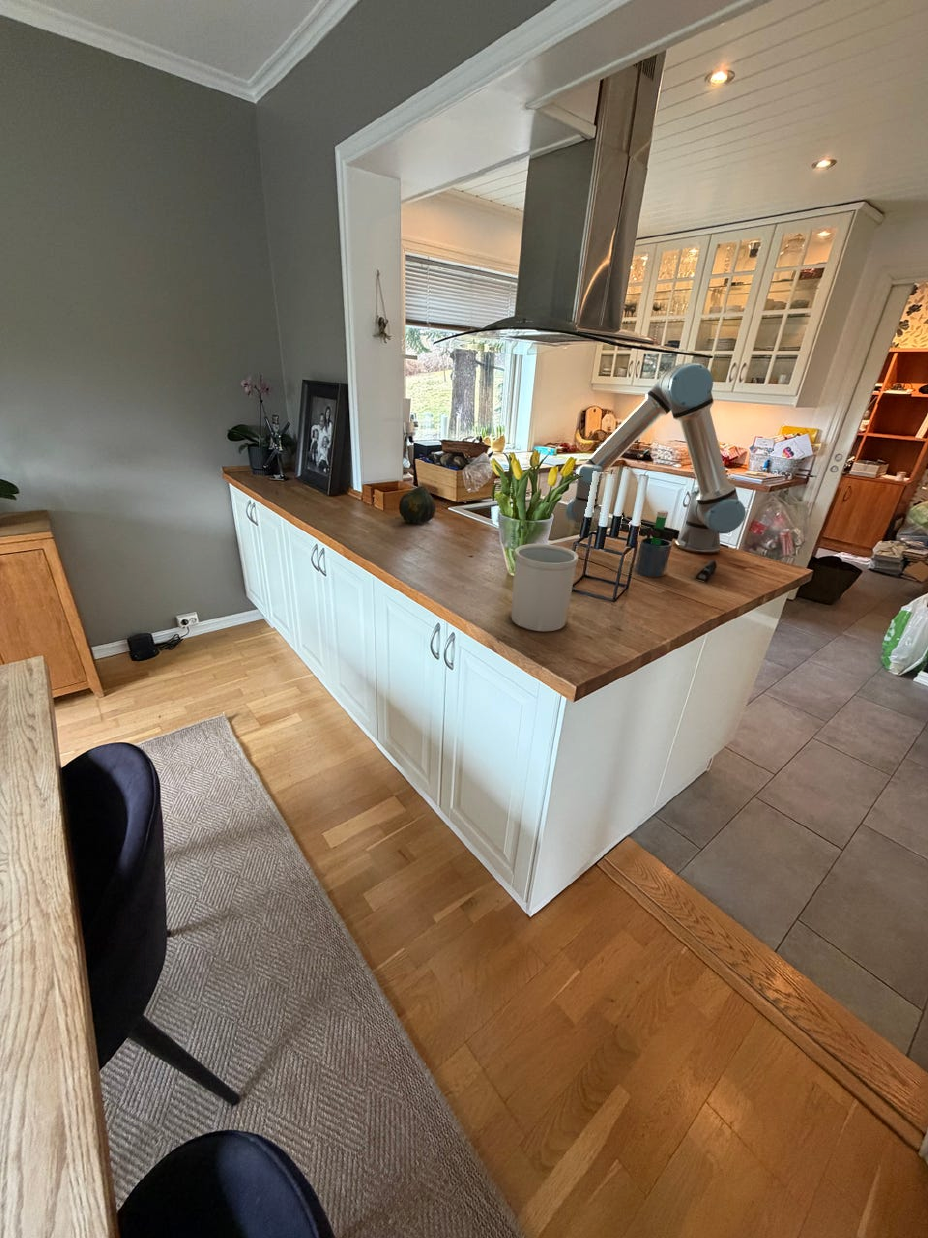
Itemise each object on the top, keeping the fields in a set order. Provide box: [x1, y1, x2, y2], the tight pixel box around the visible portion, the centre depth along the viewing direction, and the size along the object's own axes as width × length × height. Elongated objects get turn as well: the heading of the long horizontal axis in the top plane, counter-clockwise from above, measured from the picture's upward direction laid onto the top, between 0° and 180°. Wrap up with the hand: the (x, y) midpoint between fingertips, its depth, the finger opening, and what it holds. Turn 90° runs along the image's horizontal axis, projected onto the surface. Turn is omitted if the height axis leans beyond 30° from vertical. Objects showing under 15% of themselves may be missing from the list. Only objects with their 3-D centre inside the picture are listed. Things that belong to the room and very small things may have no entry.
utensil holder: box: [510, 543, 579, 632], centre depth 117 cm, size 15×15×18 cm
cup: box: [634, 537, 672, 578], centre depth 153 cm, size 9×9×10 cm
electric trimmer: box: [695, 560, 718, 583], centre depth 154 cm, size 4×16×3 cm, turn 142°
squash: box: [398, 485, 436, 524], centre depth 196 cm, size 14×15×15 cm
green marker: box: [651, 509, 669, 546], centre depth 150 cm, size 3×3×14 cm
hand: (675, 536), depth 146 cm, fingers closed on green marker, 3 cm apart
